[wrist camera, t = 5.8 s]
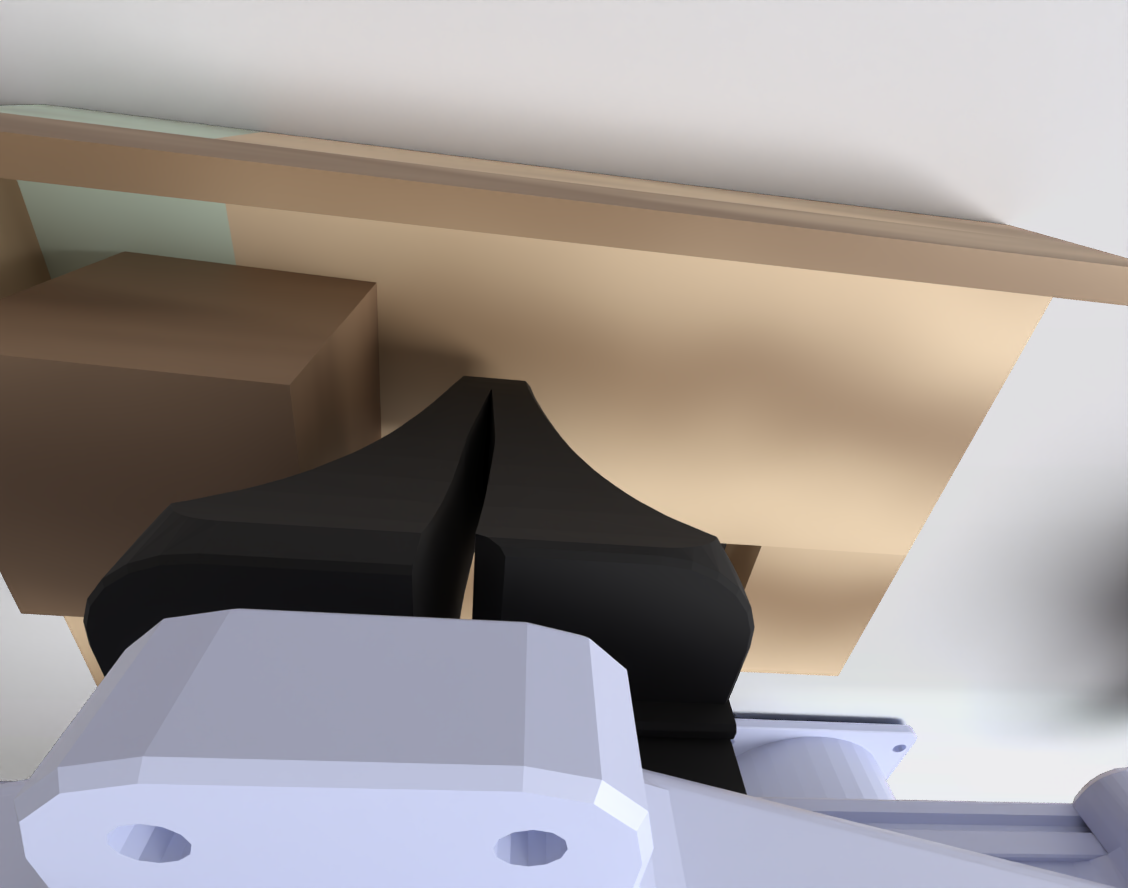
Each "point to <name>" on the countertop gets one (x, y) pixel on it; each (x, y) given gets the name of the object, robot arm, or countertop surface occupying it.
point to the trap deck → (609, 324)
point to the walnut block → (165, 403)
